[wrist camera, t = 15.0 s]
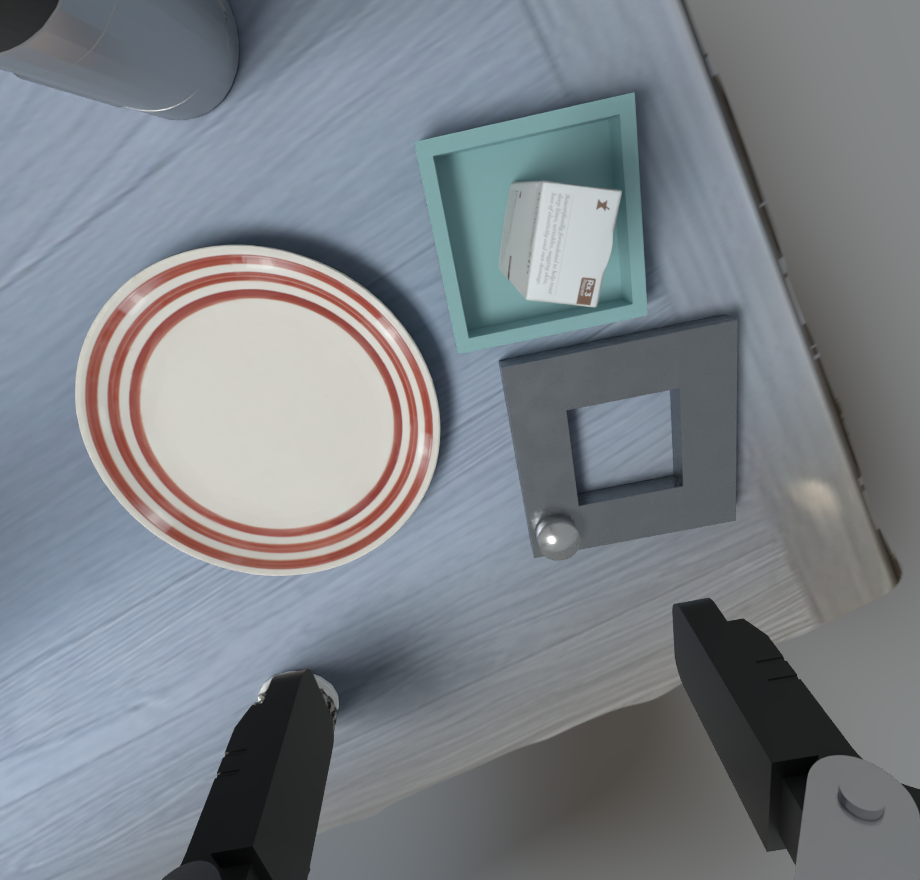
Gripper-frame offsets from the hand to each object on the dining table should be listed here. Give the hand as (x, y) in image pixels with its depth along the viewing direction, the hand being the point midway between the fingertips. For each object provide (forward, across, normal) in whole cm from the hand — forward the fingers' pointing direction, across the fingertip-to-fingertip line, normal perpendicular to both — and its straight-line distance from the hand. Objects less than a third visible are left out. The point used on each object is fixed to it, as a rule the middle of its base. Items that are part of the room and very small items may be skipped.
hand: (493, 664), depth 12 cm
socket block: (+33, -12, +12) cm, 37 cm away
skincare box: (+33, -7, -6) cm, 34 cm away
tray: (+33, -7, -6) cm, 34 cm away
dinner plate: (+34, +16, +4) cm, 37 cm away
